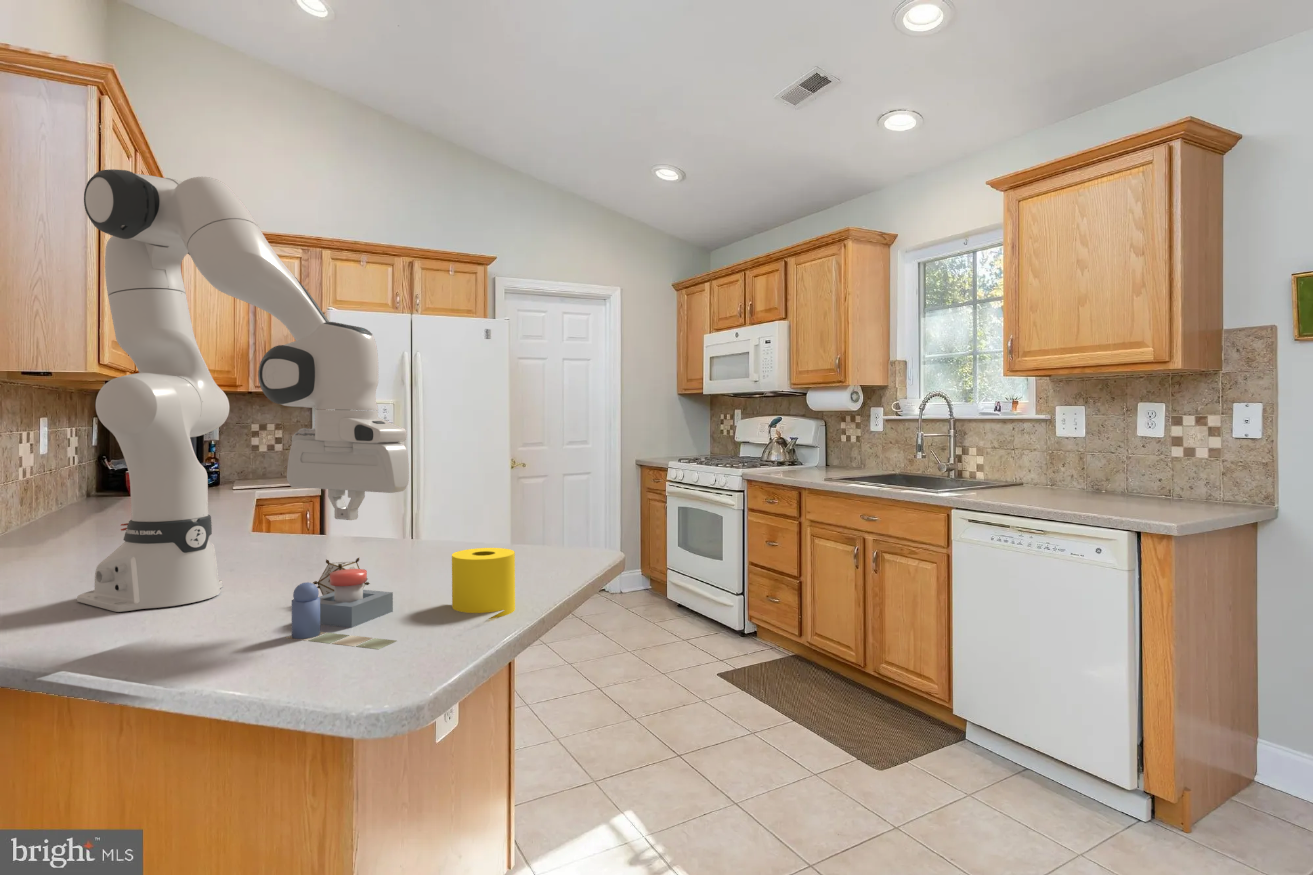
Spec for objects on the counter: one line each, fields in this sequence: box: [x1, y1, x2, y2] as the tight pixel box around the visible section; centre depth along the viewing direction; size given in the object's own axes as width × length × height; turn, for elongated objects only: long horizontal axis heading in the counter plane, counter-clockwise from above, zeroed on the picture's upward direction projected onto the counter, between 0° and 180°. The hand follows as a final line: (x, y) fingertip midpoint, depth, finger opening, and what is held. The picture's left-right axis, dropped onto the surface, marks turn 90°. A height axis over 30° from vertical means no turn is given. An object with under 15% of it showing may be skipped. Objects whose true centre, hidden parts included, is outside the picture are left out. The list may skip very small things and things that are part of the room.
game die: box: [312, 557, 371, 596], centre depth 118 cm, size 9×8×10 cm
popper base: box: [318, 589, 394, 629], centre depth 108 cm, size 9×9×4 cm
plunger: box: [330, 568, 368, 603], centre depth 108 cm, size 5×5×7 cm
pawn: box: [291, 581, 321, 640], centre depth 99 cm, size 4×4×7 cm
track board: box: [285, 631, 397, 650], centre depth 97 cm, size 16×8×1 cm, turn 72°
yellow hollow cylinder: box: [451, 547, 516, 619], centre depth 115 cm, size 10×10×9 cm
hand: (346, 519), depth 108 cm, fingers closed
